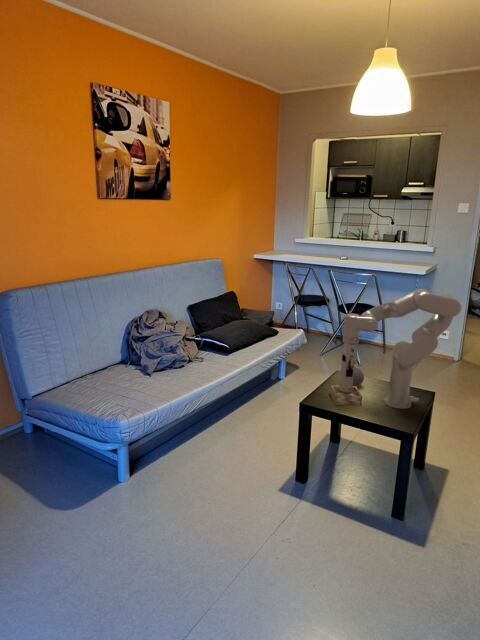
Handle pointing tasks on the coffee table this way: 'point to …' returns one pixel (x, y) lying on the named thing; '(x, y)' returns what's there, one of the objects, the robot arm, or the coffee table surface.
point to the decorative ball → (357, 377)
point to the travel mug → (345, 378)
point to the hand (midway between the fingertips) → (347, 373)
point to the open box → (346, 396)
